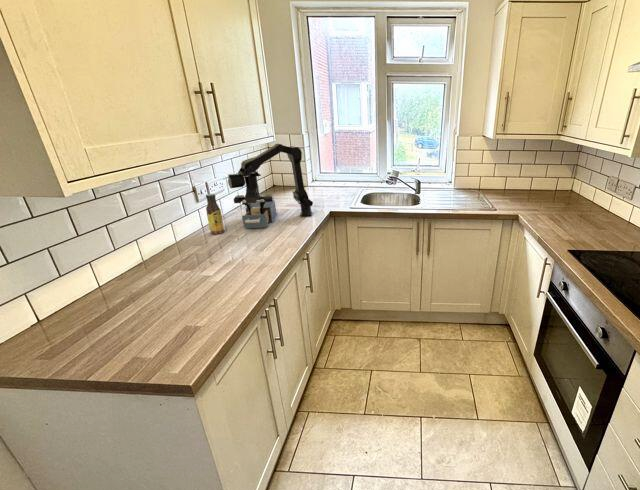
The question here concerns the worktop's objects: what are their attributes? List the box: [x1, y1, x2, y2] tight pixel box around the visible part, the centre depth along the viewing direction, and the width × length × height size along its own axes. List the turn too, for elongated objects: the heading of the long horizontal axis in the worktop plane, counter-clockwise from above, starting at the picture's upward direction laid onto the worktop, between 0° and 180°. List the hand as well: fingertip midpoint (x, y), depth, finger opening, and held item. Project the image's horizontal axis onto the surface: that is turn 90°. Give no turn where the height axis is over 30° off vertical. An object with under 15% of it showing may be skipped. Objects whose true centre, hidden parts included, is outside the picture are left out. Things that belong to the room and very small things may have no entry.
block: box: [251, 207, 262, 215], centre depth 168 cm, size 4×4×4 cm
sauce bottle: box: [205, 193, 225, 235], centre depth 157 cm, size 7×6×20 cm
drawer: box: [241, 209, 270, 229], centre depth 167 cm, size 18×11×7 cm, turn 11°
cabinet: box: [245, 199, 277, 223], centre depth 179 cm, size 15×13×9 cm
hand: (256, 214), depth 168 cm, fingers closed on block, 4 cm apart
